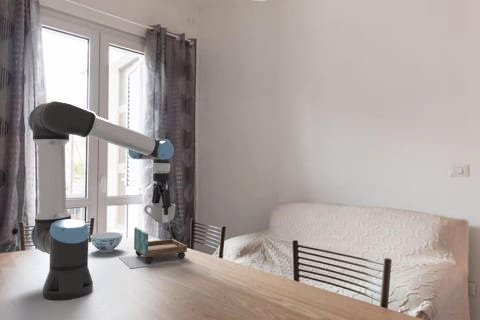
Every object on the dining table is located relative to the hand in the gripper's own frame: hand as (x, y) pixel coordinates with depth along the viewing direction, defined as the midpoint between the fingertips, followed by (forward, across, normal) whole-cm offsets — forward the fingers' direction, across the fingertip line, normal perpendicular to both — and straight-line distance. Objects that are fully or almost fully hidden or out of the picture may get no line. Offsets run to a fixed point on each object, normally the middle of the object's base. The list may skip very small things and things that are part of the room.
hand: (160, 220), depth 161 cm
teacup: (+1, +1, 0) cm, 1 cm away
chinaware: (+18, +26, +18) cm, 36 cm away
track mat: (+17, 0, +3) cm, 18 cm away
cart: (+17, 0, 0) cm, 17 cm away
